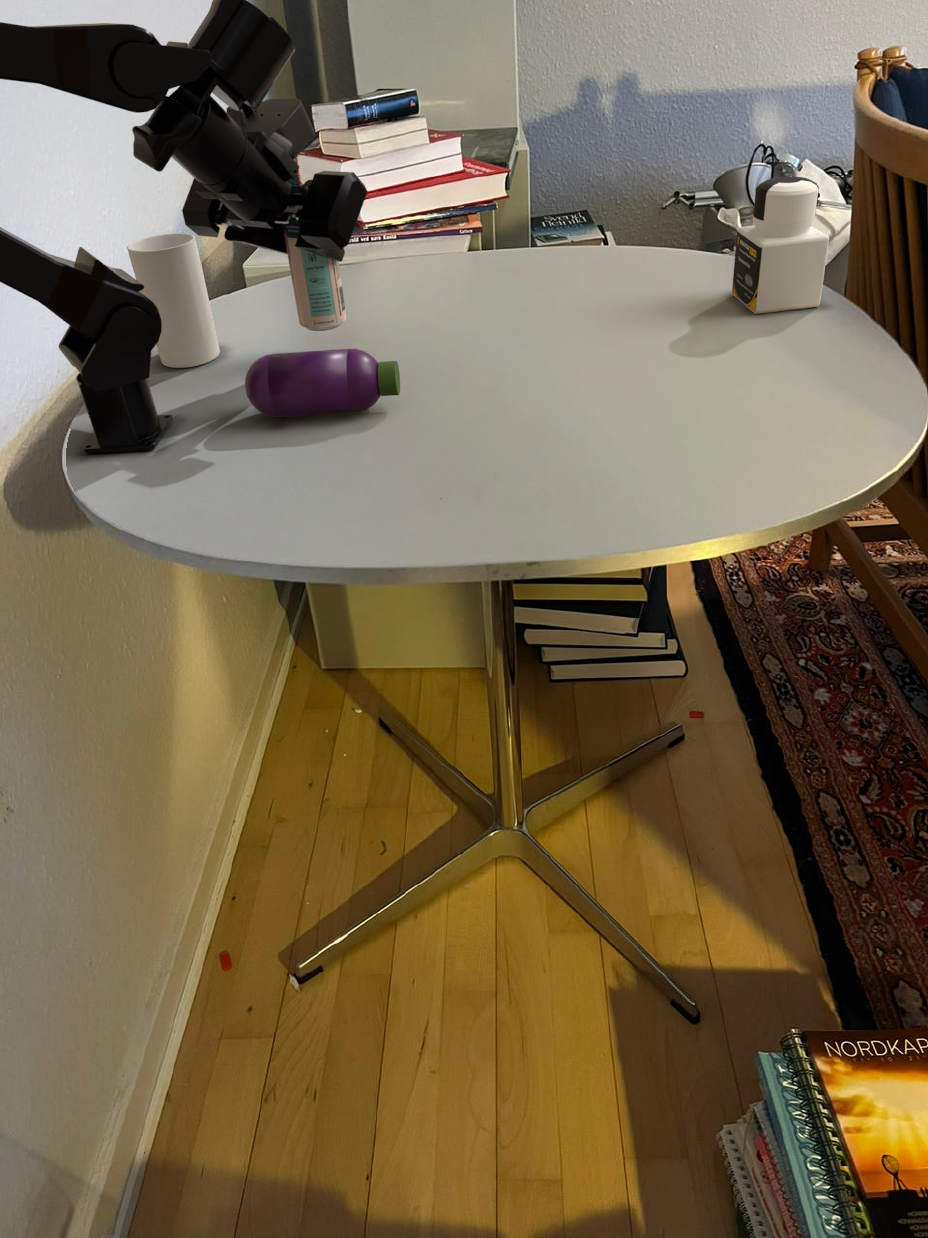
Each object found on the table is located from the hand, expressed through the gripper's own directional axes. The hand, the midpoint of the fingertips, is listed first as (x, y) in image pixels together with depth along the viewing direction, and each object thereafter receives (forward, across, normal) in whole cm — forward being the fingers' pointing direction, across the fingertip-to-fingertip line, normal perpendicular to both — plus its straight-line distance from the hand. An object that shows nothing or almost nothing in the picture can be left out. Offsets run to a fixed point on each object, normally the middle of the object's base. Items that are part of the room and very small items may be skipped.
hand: (322, 254), depth 93 cm
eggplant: (-2, -8, +16) cm, 18 cm away
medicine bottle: (+28, -37, -14) cm, 48 cm away
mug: (+4, +16, +11) cm, 20 cm away
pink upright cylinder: (+4, 0, +6) cm, 7 cm away
